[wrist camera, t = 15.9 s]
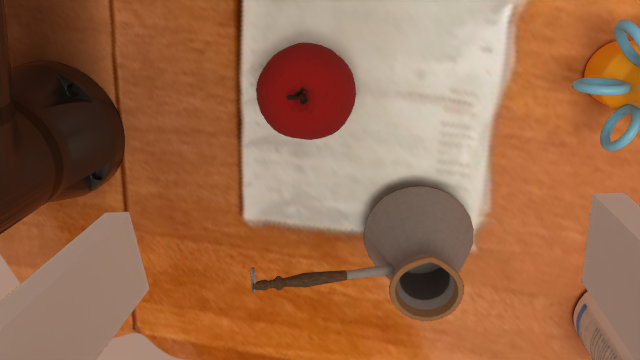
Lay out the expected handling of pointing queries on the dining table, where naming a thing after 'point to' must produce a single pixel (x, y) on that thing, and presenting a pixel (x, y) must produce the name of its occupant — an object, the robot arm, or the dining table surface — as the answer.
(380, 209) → the coffee pot
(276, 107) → the apple
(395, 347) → the dining table surface
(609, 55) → the yellow ringed vase
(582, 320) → the supplement tub
